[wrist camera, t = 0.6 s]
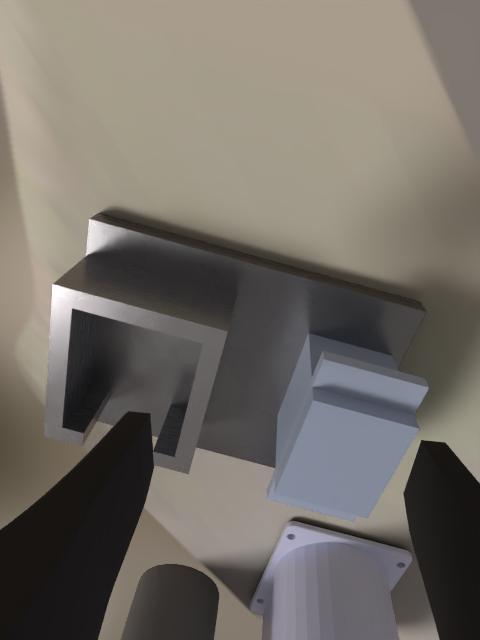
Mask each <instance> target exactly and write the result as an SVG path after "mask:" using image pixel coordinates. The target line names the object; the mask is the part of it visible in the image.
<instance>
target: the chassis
mask: <svg viewBox="0 0 480 640" xmlns="http://www.w3.org/2000/svg"><path fill="white" fill-rule="evenodd" d="M425 314H426V310H425V309H424V307H423V305H422V304H421V302H418V301H414V300H411V299H407V298H403V297H400V296H396V295H393V294H389V293H385V292H382V291H378V290H375V289H371V288H367V287H364V286H360V285H356V284H353V283H349V282H346V281H342V280H338V279H335V278H331V277H328V276H324V275H320V274H317V273H313V272H309V271H306V270H302V269H299V268H295V267H291V266H288V265H284V264H280V263H277V262H273V261H270V260H266V259H262V258H259V257H255V256H252V255H248V254H244V253H241V252H237V251H233V250H230V249H226V248H223V247H219V246H215V245H212V244H208V243H205V242H201V241H197V240H194V239H190V238H186V237H183V236H179V235H176V234H172V233H168V232H165V231H161V230H158V229H154V228H150V227H147V226H143V225H139V224H136V223H132V222H129V221H125V220H121V219H118V218H114V217H110V216H107V215H103V214H100V213H98V214H96V215H95V216H93V217H92V218H90V219H89V230H88V240H87V251H86V257H85V258H83V259H82V260H81V261H80V262H79V263H77V264H76V265H75V266H74V267H73V268H71V269H70V270H69V271H68V272H67V273H65V274H64V275H63V276H62V277H61V278H60V279H58V280H57V281H56V282H55V283H54V284H53V288H52V305H51V322H50V339H49V356H48V373H47V390H46V407H45V424H44V436H45V437H49V438H53V439H57V440H60V441H64V442H68V443H72V444H76V445H79V446H83V444H84V442H85V441H86V439H87V437H88V436H89V434H90V432H91V430H92V429H93V427H94V425H95V423H96V422H97V421H99V422H103V423H106V424H110V425H115V424H116V423H117V422H118V421H119V420H120V419H121V418H122V416H123V415H124V414H125V413H127V412H128V411H132V412H142V413H150V414H151V429H152V436H156V437H158V440H157V443H156V445H155V448H154V451H153V459H154V465H156V466H160V467H163V468H167V469H171V470H175V471H179V472H183V473H186V474H189V470H190V467H191V463H192V459H193V456H194V452H195V449H196V447H197V448H201V449H205V450H209V451H213V452H216V453H220V454H224V455H228V456H232V457H235V458H239V459H243V460H247V461H251V462H254V463H258V464H262V465H266V466H269V467H273V468H275V466H276V442H277V418H278V413H279V410H280V408H281V405H282V402H283V400H284V397H285V394H286V392H287V389H288V387H289V384H290V381H291V379H292V376H293V373H294V371H295V368H296V365H297V363H298V360H299V357H300V355H301V352H302V349H303V347H304V344H305V341H306V339H307V336H308V333H310V334H314V335H317V336H321V337H325V338H328V339H332V340H336V341H339V342H343V343H347V344H350V345H354V346H358V347H362V348H365V349H369V350H373V351H376V352H380V353H384V354H387V355H391V356H393V359H394V362H395V364H396V367H397V369H398V367H399V365H400V363H401V361H402V359H403V357H404V355H405V353H406V351H407V350H408V348H409V346H410V344H411V342H412V340H413V338H414V336H415V334H416V332H417V330H418V328H419V326H420V324H421V322H422V320H423V318H424V316H425Z"/></svg>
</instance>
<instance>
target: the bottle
mask: <svg viewBox="0 0 480 640" xmlns="http://www.w3.org/2000/svg"><path fill="white" fill-rule="evenodd" d="M218 600H219V592H218V588H217V586H216V584H215V583H214V582H213V581H212V580H211V579H210V578H209V577H208V576H207V575H205V574H204V573H202V572H200V571H198V570H196V569H194V568H191V567H187V566H184V565H177V564H165V565H158V566H155V567H152V568H151V569H149V570H147V571H146V572H145V573H144V574H143V575H142V576H141V578H140V581H139V583H138V586H137V589H136V592H135V596H134V599H133V602H132V605H131V608H130V611H129V614H128V618H127V621H126V625H125V628H124V631H123V634H122V638H121V640H214V634H215V626H216V618H217V610H218V602H219V601H218Z"/></svg>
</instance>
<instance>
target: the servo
mask: <svg viewBox="0 0 480 640" xmlns="http://www.w3.org/2000/svg"><path fill="white" fill-rule="evenodd" d="M428 389H429V386H428V384H427V381H426V379H425V378H422V377H418V376H415V375H411V374H407V373H404V372H400V371H398V370H397V367H396V364H395V362H394V359H393V356H391V355H387V354H384V353H380V352H376V351H373V350H369V349H365V348H362V347H358V346H354V345H350V344H347V343H343V342H339V341H336V340H332V339H328V338H325V337H321V336H317V335H314V334H310V333H308V336H307V339H306V341H305V344H304V347H303V349H302V352H301V355H300V357H299V360H298V363H297V365H296V368H295V371H294V373H293V376H292V379H291V381H290V384H289V387H288V389H287V392H286V394H285V397H284V400H283V402H282V405H281V408H280V410H279V413H278V418H277V442H276V466H275V471H274V473H273V476H272V478H271V481H270V483H269V485H268V488H267V499H268V500H272V501H276V502H280V503H283V504H287V505H291V506H295V507H299V508H303V509H306V510H310V511H314V512H318V513H322V514H326V515H329V516H333V517H337V518H341V519H345V520H348V521H352V522H354V521H355V519H356V517H357V516H361V517H365V518H368V517H369V515H370V513H371V511H372V510H373V508H374V506H375V505H376V503H377V501H378V499H379V498H380V496H381V494H382V493H383V491H384V489H385V487H386V486H387V484H388V482H389V480H390V479H391V477H392V475H393V474H394V472H395V470H396V468H397V467H398V465H399V463H400V462H401V460H402V458H403V456H404V455H405V453H406V451H407V449H408V448H409V446H410V444H411V443H412V441H413V439H414V437H415V436H416V434H417V432H418V431H419V426H418V423H417V421H416V418H415V415H414V414H415V412H416V411H417V409H418V407H419V405H420V404H421V402H422V400H423V398H424V396H425V395H426V393H427V391H428Z"/></svg>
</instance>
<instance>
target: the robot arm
mask: <svg viewBox="0 0 480 640" xmlns="http://www.w3.org/2000/svg"><path fill="white" fill-rule="evenodd" d="M153 469H154V459H153V444H152V429H151V414H150V413H142V412H132V411H128V412H127V413H125V414H124V415H123V416H122V418H121V419H120V420H119V421H118V422H117V423H116V424H115V425H114V426H113V428H112V429H111V430H110V431H109V432H108V433H107V434H106V435H105V436H104V437H103V438H102V439H101V441H100V442H99V443H98V444H97V445H96V446H95V447H94V448H93V449H92V450H91V451H90V452H89V453H88V454H87V455H86V456H85V457H84V458H83V459H82V460H81V461H80V462H79V463H78V464H77V465H76V466H75V467H74V468H73V469H72V470H71V471H70V472H69V473H68V474H67V475H66V476H65V477H63V478H62V479H61V480H60V481H59V482H58V483H57V484H56V485H55V486H53V487H52V488H51V489H50V490H49V491H48V492H47V493H46V494H45V495H44V496H42V497H41V498H40V499H39V500H38V501H37V502H35V503H34V504H33V505H32V506H30V507H29V508H28V509H27V510H25V511H24V512H23V513H22V514H20V515H19V516H18V517H17V518H15V519H14V520H13V521H12V522H10V523H9V524H8V525H6V526H5V527H4V528H2V529H1V530H0V640H98V636H99V633H100V630H101V626H102V623H103V619H104V615H105V612H106V608H107V604H108V602H109V598H110V595H111V592H112V590H113V586H114V584H115V581H116V578H117V576H118V573H119V571H120V568H121V565H122V563H123V560H124V557H125V554H126V552H127V550H128V547H129V544H130V542H131V539H132V536H133V534H134V531H135V528H136V526H137V523H138V520H139V517H140V515H141V512H142V510H143V507H144V504H145V501H146V497H147V493H148V489H149V486H150V481H151V477H152V473H153ZM404 499H405V506H406V513H407V519H408V525H409V531H410V535H411V539H412V543H413V546H414V550H415V553H416V557H417V560H418V564H419V567H420V571H421V574H422V578H423V581H424V585H425V588H426V592H427V595H428V599H429V602H430V605H431V609H432V612H433V616H434V619H435V623H436V627H437V631H438V635H439V639H440V640H480V483H479V482H478V481H477V480H476V479H475V477H474V476H473V475H472V474H471V473H470V472H469V470H468V469H467V468H466V467H465V466H464V464H463V463H462V462H461V461H460V460H459V458H458V457H457V456H456V455H455V454H454V452H453V451H452V450H451V449H450V448H449V446H448V445H447V444H446V443H444V442H434V441H424V440H421V443H420V446H419V449H418V452H417V455H416V458H415V461H414V464H413V467H412V470H411V473H410V476H409V479H408V482H407V485H406V488H405V491H404ZM412 560H413V559H412V556H411V553H410V552H409V551H407V550H404V549H400V548H396V547H393V546H389V545H385V544H381V543H377V542H373V541H370V540H366V539H362V538H358V537H354V536H350V535H347V534H343V533H339V532H335V531H331V530H327V529H324V528H320V527H316V526H312V525H308V524H304V523H301V522H297V521H290V522H288V523H287V524H286V525H285V527H284V530H283V532H282V534H281V536H280V538H279V541H278V543H277V545H276V547H275V549H274V552H273V554H272V556H271V558H270V560H269V563H268V565H267V567H266V569H265V571H264V574H263V576H262V578H261V580H260V582H259V585H258V587H257V589H256V591H255V593H254V595H253V598H252V600H251V602H250V610H251V611H252V612H254V613H258V614H262V615H263V628H262V640H399V635H398V630H397V625H396V619H395V614H394V609H393V604H392V599H391V594H390V592H391V591H392V589H393V588H394V586H395V585H396V584H397V582H398V581H399V579H400V578H401V576H402V575H403V574H404V572H405V571H406V569H407V568H408V566H409V565H410V564H411V562H412Z"/></svg>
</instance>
